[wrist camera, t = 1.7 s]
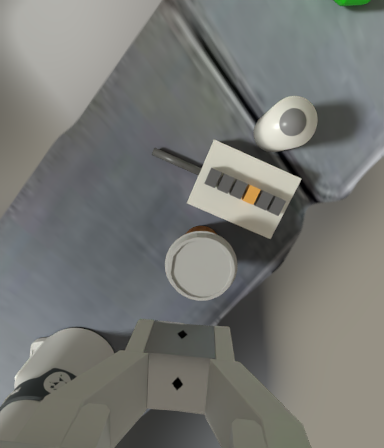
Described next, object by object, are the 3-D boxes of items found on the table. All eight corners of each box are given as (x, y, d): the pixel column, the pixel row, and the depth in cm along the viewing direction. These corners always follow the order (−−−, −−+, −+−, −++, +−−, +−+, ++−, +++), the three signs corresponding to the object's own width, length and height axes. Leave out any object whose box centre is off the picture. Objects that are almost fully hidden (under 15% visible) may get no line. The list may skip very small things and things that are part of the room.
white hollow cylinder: (281, 158, 41) (303, 155, 32) (247, 143, 41) (259, 135, 32) (299, 121, 40) (327, 108, 31) (264, 105, 40) (282, 87, 31)
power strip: (264, 233, 44) (273, 242, 38) (143, 180, 43) (134, 182, 37) (292, 177, 42) (307, 179, 36) (166, 121, 41) (160, 113, 35)
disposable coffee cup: (197, 204, 43) (195, 217, 32) (240, 240, 44) (254, 265, 33) (162, 246, 45) (148, 274, 33) (204, 279, 46) (205, 317, 34)
